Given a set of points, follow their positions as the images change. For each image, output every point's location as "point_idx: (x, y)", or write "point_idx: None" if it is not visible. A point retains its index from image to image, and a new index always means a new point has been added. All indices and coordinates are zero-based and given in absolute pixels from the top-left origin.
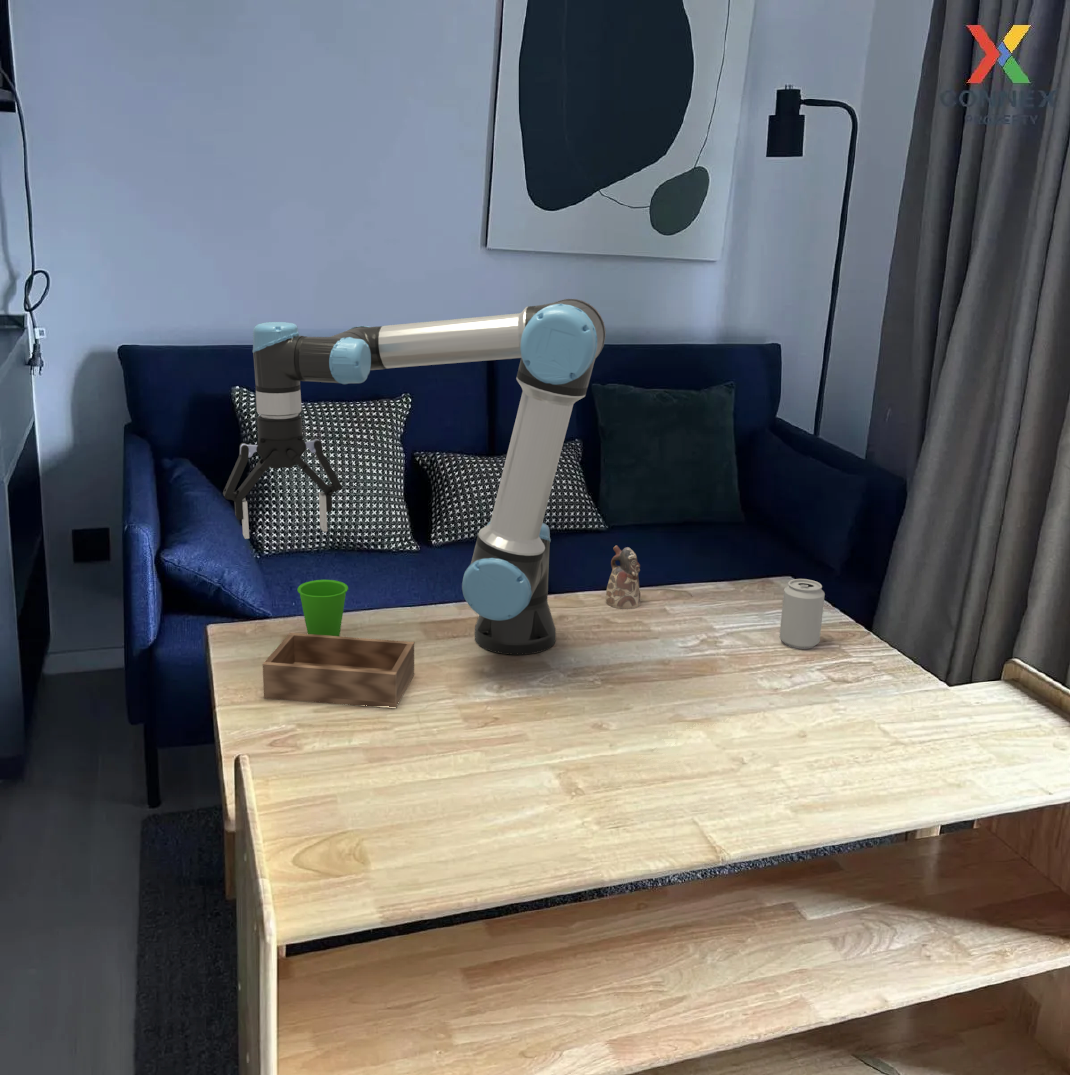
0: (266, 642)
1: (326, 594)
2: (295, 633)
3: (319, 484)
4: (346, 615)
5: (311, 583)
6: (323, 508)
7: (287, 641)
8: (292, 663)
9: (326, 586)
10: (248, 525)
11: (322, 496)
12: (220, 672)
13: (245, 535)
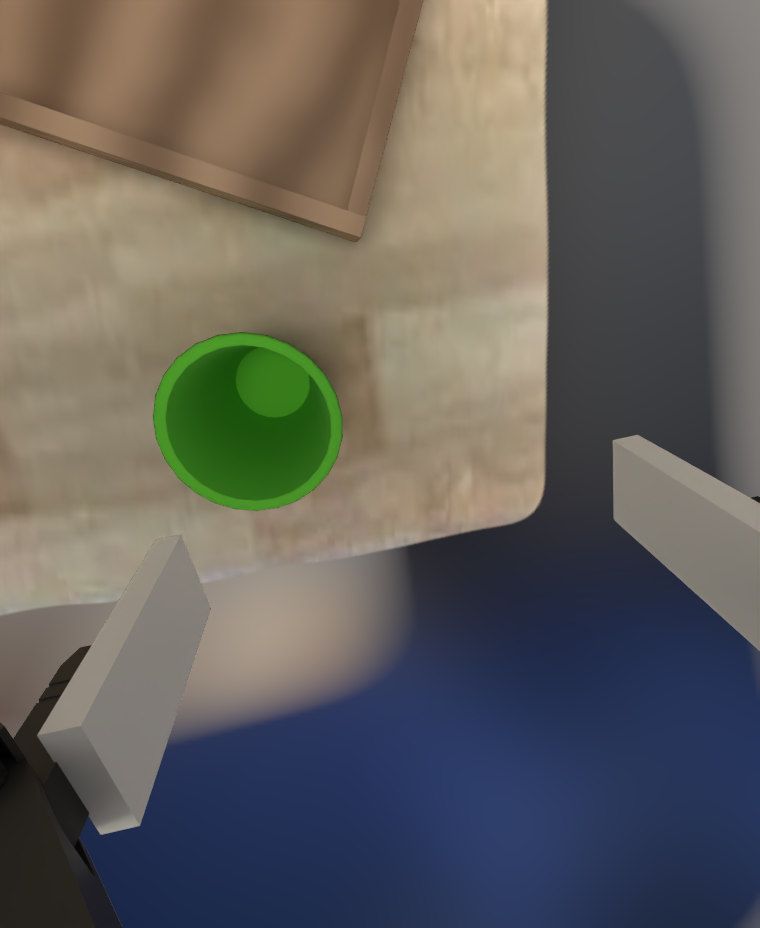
0: (423, 405)
1: (251, 476)
2: (342, 227)
3: (33, 867)
4: (232, 563)
5: (296, 488)
6: (116, 637)
7: (366, 147)
8: (350, 197)
9: (246, 490)
10: (662, 471)
11: (72, 724)
12: (541, 206)
13: (645, 443)
